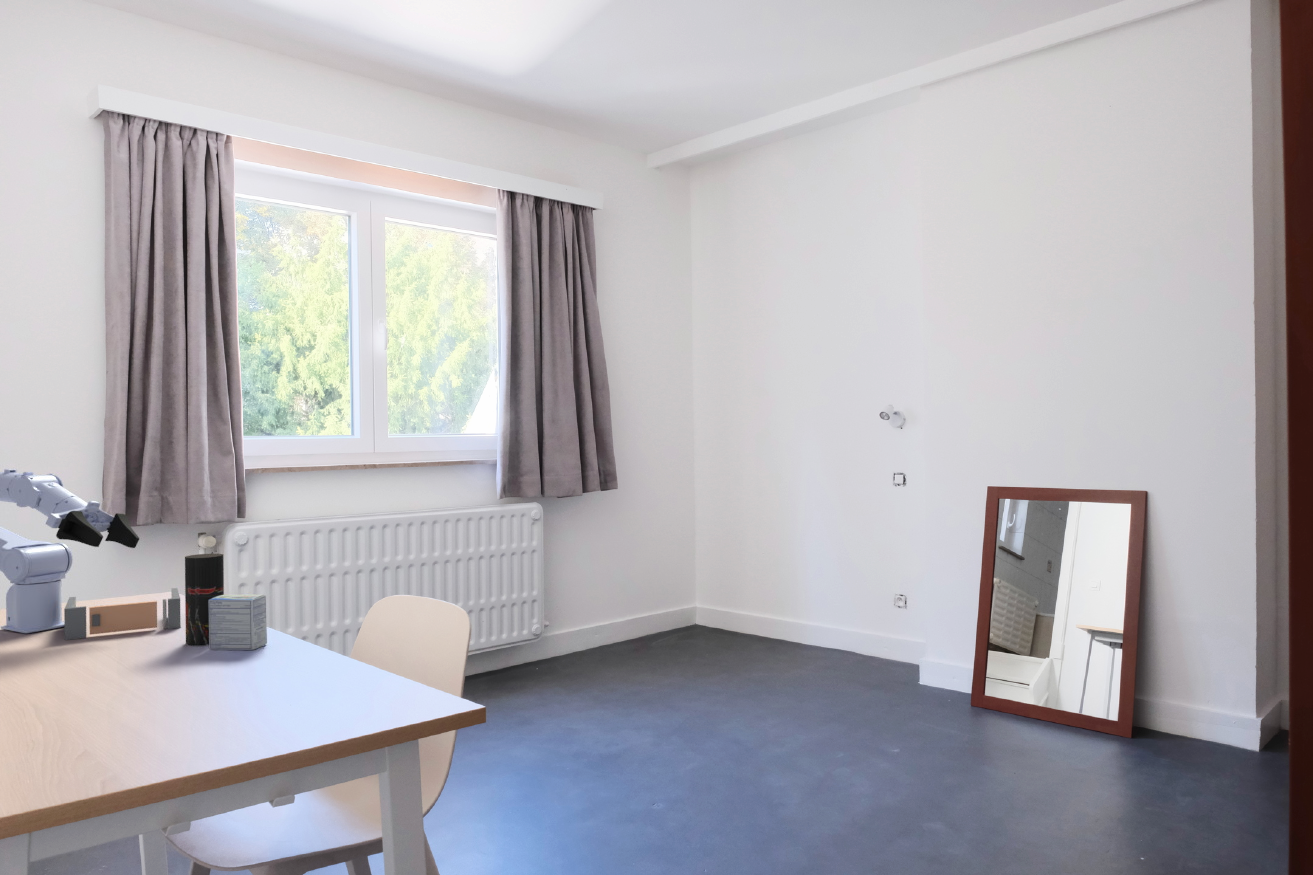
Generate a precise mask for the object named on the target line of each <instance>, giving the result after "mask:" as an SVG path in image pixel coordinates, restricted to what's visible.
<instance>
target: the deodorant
mask: <svg viewBox="0 0 1313 875" xmlns="http://www.w3.org/2000/svg"><path fill="white" fill-rule="evenodd" d="M224 566H225V565H224V554H223V553H201V554H200V553H199V554H190V555H186V556H184V594H185V595H184V596H185V598H184V599H185V600H184V603H185V607H184V608H185V645H186V646H188V647H189V646H190V647H201V646H202V647H203V646H209V599H212V598H214V597H217V596H220V595H225V592H224V591H225V586H224V584H225V582H224V581H225V579H224V574H225V573H224V571H225V570H224V569H225V568H224Z"/></svg>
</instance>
